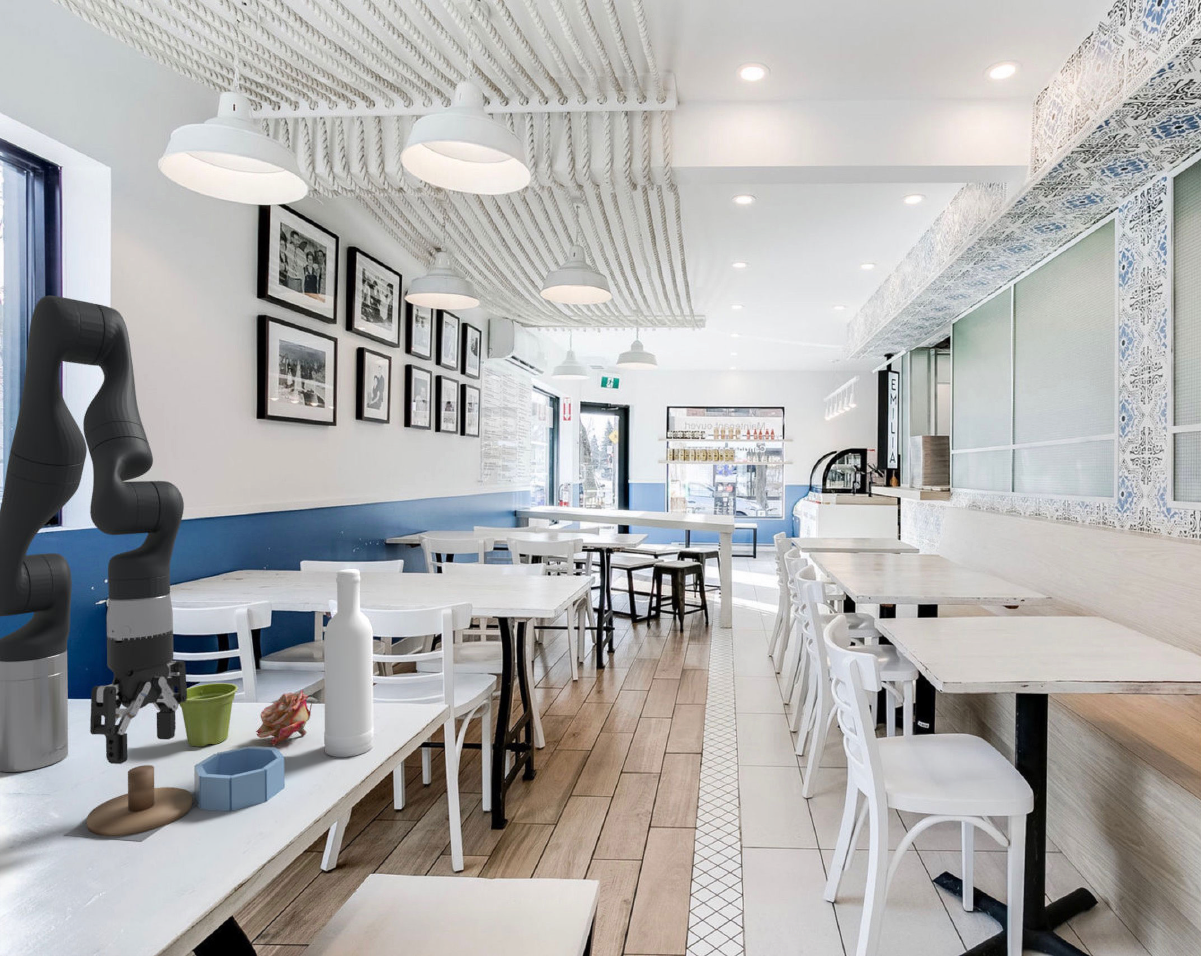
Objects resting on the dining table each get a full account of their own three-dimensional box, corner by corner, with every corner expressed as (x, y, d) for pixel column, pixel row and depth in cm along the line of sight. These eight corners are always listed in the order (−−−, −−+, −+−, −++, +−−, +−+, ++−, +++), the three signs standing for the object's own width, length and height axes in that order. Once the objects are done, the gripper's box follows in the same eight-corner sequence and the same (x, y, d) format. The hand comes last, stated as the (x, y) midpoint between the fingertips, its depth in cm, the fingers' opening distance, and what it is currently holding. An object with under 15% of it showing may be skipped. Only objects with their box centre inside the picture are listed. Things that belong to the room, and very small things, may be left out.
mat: (63, 839, 93) (63, 835, 93) (141, 794, 105) (141, 790, 105) (141, 845, 91) (141, 841, 91) (211, 799, 104) (210, 794, 104)
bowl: (178, 811, 100) (178, 775, 100) (229, 777, 111) (229, 745, 111) (252, 816, 99) (252, 779, 99) (297, 781, 110) (296, 748, 110)
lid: (63, 832, 93) (62, 786, 93) (135, 791, 105) (135, 750, 105) (148, 839, 92) (147, 791, 91) (211, 796, 103) (211, 754, 103)
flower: (309, 714, 135) (281, 684, 132) (335, 715, 129) (307, 683, 126) (269, 758, 128) (239, 727, 125) (296, 761, 122) (265, 728, 119)
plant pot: (212, 753, 121) (211, 701, 121) (163, 748, 123) (162, 697, 123) (250, 733, 130) (249, 684, 130) (204, 729, 132) (203, 681, 132)
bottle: (339, 761, 117) (338, 575, 117) (315, 749, 122) (314, 570, 122) (383, 747, 123) (382, 570, 123) (358, 736, 128) (357, 566, 128)
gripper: (154, 618, 106) (156, 730, 106) (70, 641, 91) (72, 770, 92) (202, 619, 105) (204, 732, 105) (124, 642, 90) (126, 772, 91)
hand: (142, 750), depth 98 cm, fingers open, 8 cm apart
